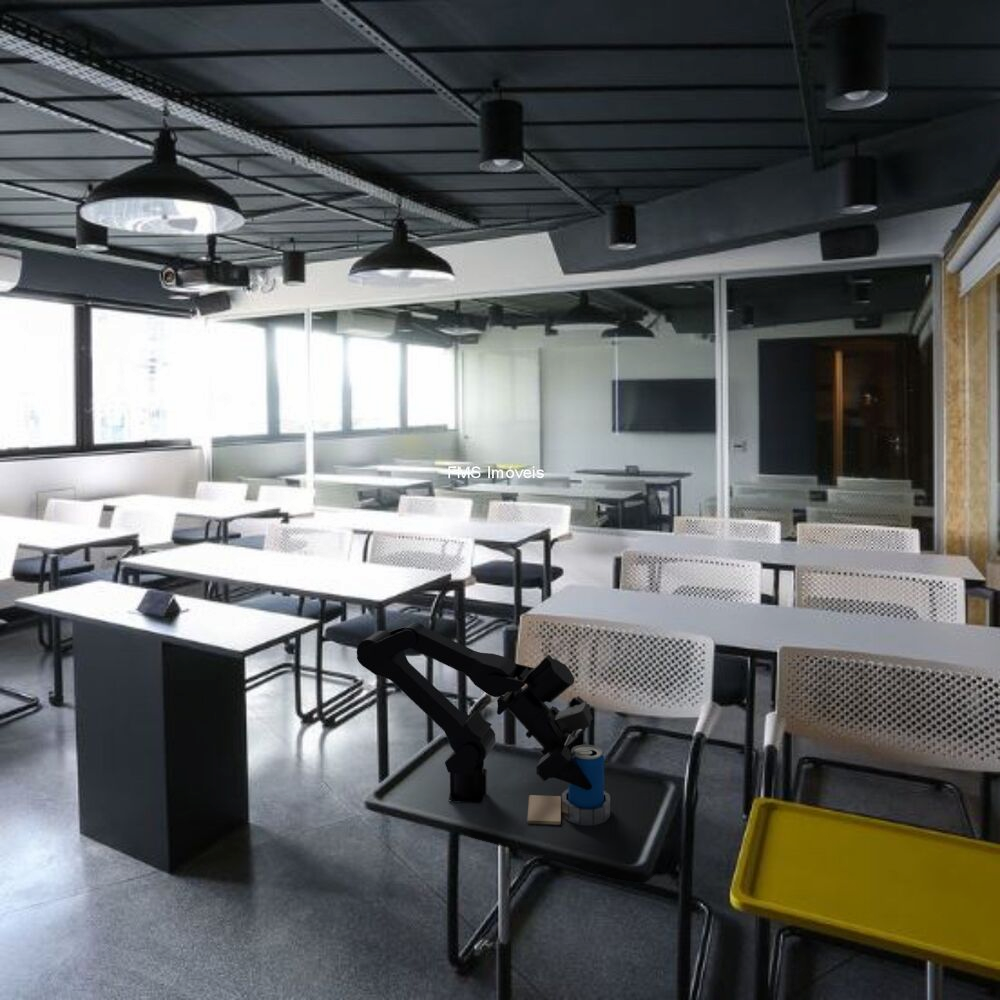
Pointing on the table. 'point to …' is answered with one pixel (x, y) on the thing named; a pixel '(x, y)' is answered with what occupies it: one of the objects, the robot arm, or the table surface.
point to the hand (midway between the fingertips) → (593, 779)
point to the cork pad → (544, 810)
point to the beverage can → (588, 777)
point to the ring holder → (585, 811)
